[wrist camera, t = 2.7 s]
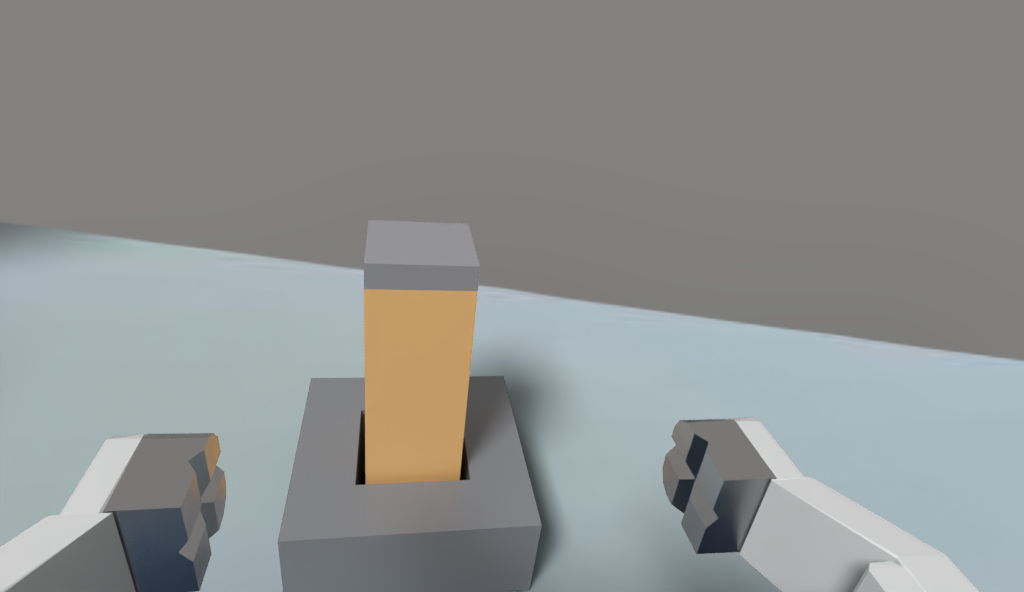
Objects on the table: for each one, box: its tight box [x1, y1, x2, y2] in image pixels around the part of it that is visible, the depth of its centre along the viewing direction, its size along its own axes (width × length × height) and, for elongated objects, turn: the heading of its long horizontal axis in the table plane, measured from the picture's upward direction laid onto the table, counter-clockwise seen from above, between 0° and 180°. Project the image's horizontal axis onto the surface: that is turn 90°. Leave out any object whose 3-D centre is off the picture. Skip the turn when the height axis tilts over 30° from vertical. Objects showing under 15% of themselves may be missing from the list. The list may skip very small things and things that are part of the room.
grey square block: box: [278, 376, 542, 592], centre depth 28 cm, size 10×10×4 cm
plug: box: [364, 220, 480, 484], centre depth 26 cm, size 4×4×14 cm
